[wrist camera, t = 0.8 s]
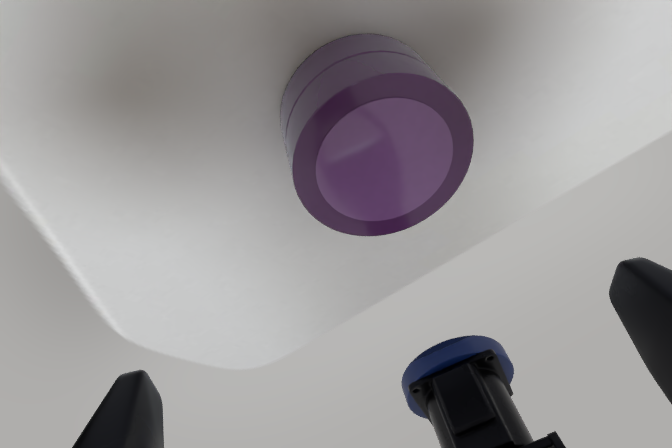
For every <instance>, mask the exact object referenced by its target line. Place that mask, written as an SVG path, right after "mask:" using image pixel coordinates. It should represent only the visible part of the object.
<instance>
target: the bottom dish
mask: <svg viewBox="0 0 672 448" xmlns="http://www.w3.org/2000/svg"><path fill="white" fill-rule="evenodd" d="M374 52H389V53H397V54H401V55H406V56H409V57H411V58H414V59H416V60H418V61H420V62H422V63H423V64H425V65H427V66H428V64H427V63H426V62H425V61H424V60H423V59H422V58H421V57H420V56H419V55H418V54H417V53H416V52H415V51H414V50H413V49H412V48H410V47H409V46H407V45H406V44H404V43H402V42H401V41H398V40H396V39H394V38H391V37H387V36H383V35H377V34H357V35H352V36H347V37H343V38H340V39H337V40H335V41H333V42H330V43H328V44H326V45H324V46H323V47H321V48H320V49H318V50H316V51H315V52H314V53H313V54H312V55H310V56H309V57H308V58H307V59H306V60H305V61H304V62H303V63H302V64H301V65H300V66H299V67H298V69H297V70H296V72H295V73H294V74H293V76H292V78H291V80H290V81H289V83H288V85H287V88H286V90H285V93H284V96H283V100H282V104H281V113H280V119H281V129H282V134H283V138H284V143H285V147H286V133H287V127H288V122H289V118H290V116H291V113H292V111H293V108H294V106H295V104H296V103H297V101H298V99H299V97H300V96H301V95H302V93H303V92H304V91H305V89H306V88H307V87H308V86H309V85H310V84H311V83H312V82H313V81H314V79H315V78H317V77H318V76H319V75H320V74H322V73H323V72H324V71H325V70H327V69H329V68H330V67H332V66H333V65H335V64H337V63H339V62H341V61H343V60H346V59H348V58H351V57H354V56H357V55H361V54H367V53H374ZM428 67H429V66H428ZM429 68H430V67H429ZM430 69H431V68H430ZM431 70H432V69H431ZM286 151H287V150H286ZM287 156H288V155H287Z"/></svg>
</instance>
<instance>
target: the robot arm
mask: <svg viewBox="0 0 672 448" xmlns="http://www.w3.org/2000/svg"><path fill="white" fill-rule="evenodd" d="M609 296H610V300H611V303H612V305H613V307H614V308H615V310H616V312H617V314H618V315H619V317H620V319H621V321H622V323H623V325H624V326H625V328H626V330H627V332H628V334H629V336H630V338H631V339H632V341H633V343H634V345H635V347H636V348H637V350H638V352H639V354H640V356H641V358H642V359H643V361H644V363H645V365H646V366H647V368H648V370H649V371H650V373H651V374H652V376H653V378H654V379H655V381H656V382H657V384H658V385H659V386H660V388H661V389H662V391H663V392H664V393H665V395H666V397H667V398H668V400H669V401H670V402H671V404H672V270H670V269H668V268H665V267H663V266H661V265H658V264H657V263H655V262H652V261H650V260H648V259H645V258H640V257H639V258H633V259H629V260H625V261H622V262H620V263H619V264H618V266H617V268H616V271H615V274H614V277H613V280H612V283H611V286H610V291H609ZM408 390H409V392H410V394H411V396H412V397H413V399H414V400H415V401H416V403H417V404H418V406H419V407H420V408H421V410H422V411H423V413H424V414H425V415H426V417H427V418H428V419H429V421H430V422H431V424H432V425H433V427H434V429H435V432H436V434H437V437H438V440H439V443H440V446H441V448H566V447H565V446H564V444H563V443H562V441H561V439H560V438H559V436H558V435H557V433H556V432H552V433H550V434H547V435H548V436H546V437H544V438H541V439H539V440H537V441H533V439H532V437H531V435H530V433H529V431H528V429H527V427H526V426H525V424H524V422H523V420H522V418H521V416H520V414H519V412H518V410H517V409H516V407H515V405H514V403H513V401H512V399H511V396H512V395H513V392H512V390H511V387H510V385H509V382H508V380H507V378H506V375H505V373H504V371H503V369H502V366H501V364H500V362H499V359H498V357H497V355H496V353H495V351H494V350H493V349H488V350H485V351H483V352H480V353H478V354H476V355H474V356H471V357H469V358H467V359H465V360H462V361H460V362H458V363H455V364H453V365H451V366H449V367H446V368H444V369H442V370H440V371H437V372H435V373H433V374H430V375H428V376H426V377H424V378H421V379H419V380H417V381H415V382H412V383H411V384H409V385H408ZM72 448H164V436H163V408H162V400H161V397H160V394H159V392H158V391H157V389H156V387H155V386H154V384H153V382H152V381H151V379H150V377H149V376H148V374H147V373H146V372H145V371H143V370H138V371H133V372H129V373H125V374H122V375H120V376H119V377H118V378H117V380H116V381H115V383H114V384H113V386H112V387H111V389H110V390H109V392H108V393H107V395H106V396H105V398H104V399H103V401H102V402H101V404H100V406H99V407H98V409H97V410H96V412H95V413H94V415H93V416H92V418H91V419H90V421H89V422H88V424H87V425H86V427H85V429H84V430H83V432H82V433H81V435H80V436H79V438H78V439H77V441H76V442H75V444H74V446H73V447H72Z"/></svg>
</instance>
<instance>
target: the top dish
mask: <svg viewBox="0 0 672 448" xmlns="http://www.w3.org/2000/svg"><path fill="white" fill-rule="evenodd" d="M473 142H474V139H473V128H472V124H471V120H470V117H469V115H468V112H467V110H466V108H465V107H464V105H463V104H462V102H461V101H460V99H459V98H458V97H457V96H456V95H455V94H454V93H453V92H452V90H451V89H450V88H449V87H448V86H447V85H446V84H445V83H444V82H443V81H442V80H441V79H440V77H439V76H438V75H437V74H436V73H435V72H434V71H433V70H431V69H430V68H429V67H428V66H427V65H425V64H423V63H422V62H420V61H418V60H416V59H414V58H411V57H409V56H406V55H401V54H397V53H389V52H374V53H367V54H361V55H357V56H354V57H351V58H348V59H346V60H343V61H341V62H339V63H337V64H335V65H333V66H332V67H330V68H329V69H327V70H325V71H324V72H323V73H322V74H320V75H319V76H318V77H317V78H315V79H314V81H313V82H312V83H311V84H310V85H309V86H308V87H307V88H306V89H305V91H304V92H303V93H302V95H301V96H300V97H299V99H298V101H297V103H296V104H295V106H294V108H293V111H292V113H291V116H290V118H289V122H288V127H287V133H286V150H287V155H288V160H289V165H290V169H291V173H292V178H293V182H294V186H295V189H296V192H297V195H298V197H299V199H300V200H301V202H302V204H303V205H304V207H305V208H306V209H307V211H308V212H309V213H310V214H311V215H312V216H313V217H314V218H315V219H317V220H318V221H320V222H321V223H322V224H324V225H326V226H327V227H329V228H331V229H333V230H336V231H339V232H342V233H346V234H350V235H357V236H379V235H386V234H391V233H395V232H398V231H401V230H404V229H407V228H409V227H411V226H414V225H416V224H418V223H419V222H421V221H423V220H425V219H426V218H428V217H429V216H431V215H432V214H434V213H435V212H436V211H437V210H439V209H440V208H441V207H442V206H443V205H444V204H445V203H446V202H447V201H448V200H449V199H450V198H451V197H452V195H453V194H454V193H455V192H456V190H457V189H458V187H459V186H460V184H461V183H462V181H463V179H464V177H465V175H466V173H467V171H468V168H469V165H470V162H471V158H472V153H473Z"/></svg>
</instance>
